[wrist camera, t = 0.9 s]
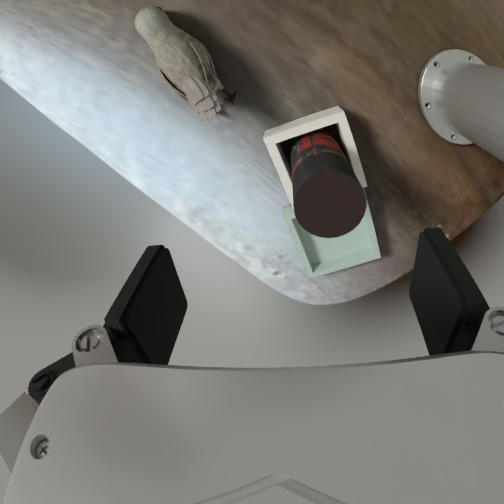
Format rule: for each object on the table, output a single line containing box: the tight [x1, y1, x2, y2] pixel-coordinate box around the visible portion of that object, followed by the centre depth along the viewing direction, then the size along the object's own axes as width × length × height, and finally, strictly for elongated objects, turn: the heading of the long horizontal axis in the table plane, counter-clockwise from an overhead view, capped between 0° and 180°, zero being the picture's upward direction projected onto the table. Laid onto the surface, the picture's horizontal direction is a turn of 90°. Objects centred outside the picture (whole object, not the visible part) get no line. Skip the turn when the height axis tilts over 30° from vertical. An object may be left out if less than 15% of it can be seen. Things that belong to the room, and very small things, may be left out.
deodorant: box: [290, 129, 367, 238], centre depth 31 cm, size 6×6×15 cm
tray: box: [283, 188, 381, 279], centre depth 41 cm, size 11×11×2 cm
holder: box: [263, 106, 367, 210], centre depth 35 cm, size 9×9×4 cm
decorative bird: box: [135, 6, 238, 121], centre depth 28 cm, size 5×16×8 cm, turn 34°
